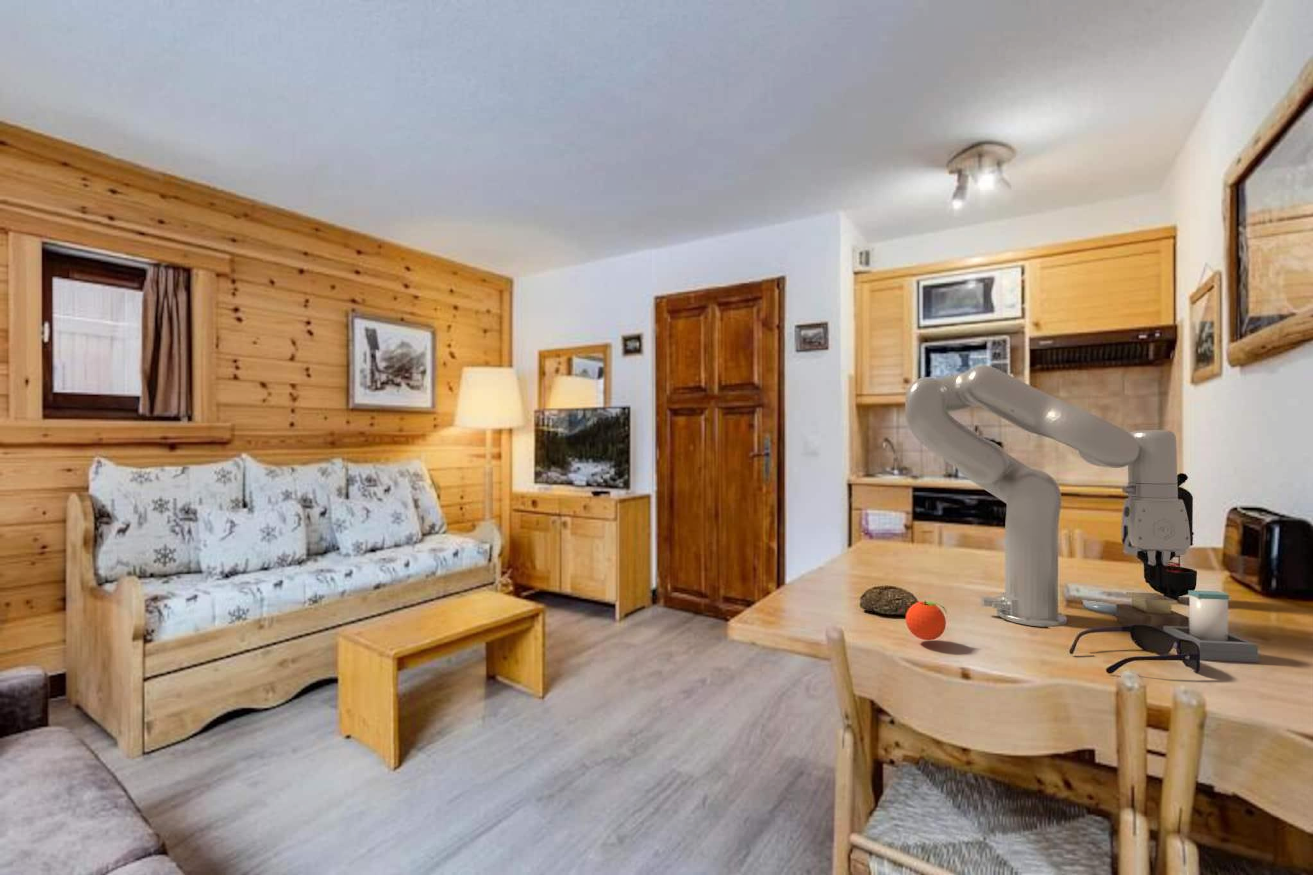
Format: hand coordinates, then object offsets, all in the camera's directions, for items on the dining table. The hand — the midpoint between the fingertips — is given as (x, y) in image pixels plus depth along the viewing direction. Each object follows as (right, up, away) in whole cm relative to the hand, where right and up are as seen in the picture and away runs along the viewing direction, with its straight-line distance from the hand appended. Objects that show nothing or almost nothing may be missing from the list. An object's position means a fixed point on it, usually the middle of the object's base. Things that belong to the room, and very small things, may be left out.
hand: (1155, 584), depth 118 cm
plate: (+1, -9, +13) cm, 16 cm away
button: (-1, -6, 0) cm, 6 cm away
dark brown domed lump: (-47, -9, +15) cm, 50 cm away
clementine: (-48, -9, -6) cm, 49 cm away
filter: (+20, -9, +21) cm, 30 cm away
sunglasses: (-18, -9, -17) cm, 27 cm away
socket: (-1, -9, -13) cm, 16 cm away
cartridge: (-1, -7, -13) cm, 15 cm away
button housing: (-1, -9, 0) cm, 9 cm away
